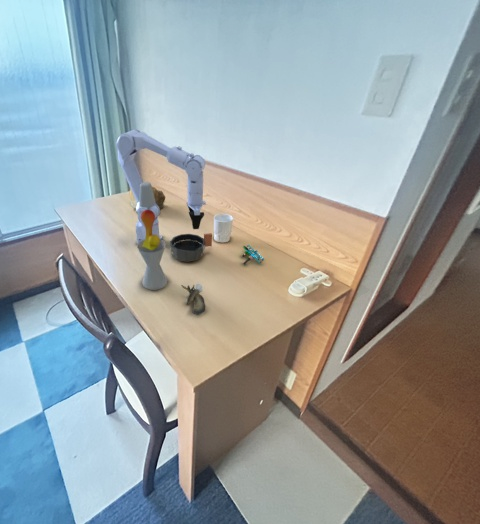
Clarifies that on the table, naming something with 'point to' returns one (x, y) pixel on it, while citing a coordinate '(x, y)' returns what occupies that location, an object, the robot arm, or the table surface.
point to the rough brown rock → (157, 195)
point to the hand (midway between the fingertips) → (194, 224)
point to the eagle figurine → (196, 298)
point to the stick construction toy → (251, 254)
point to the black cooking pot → (189, 246)
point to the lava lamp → (151, 242)
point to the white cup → (222, 227)
